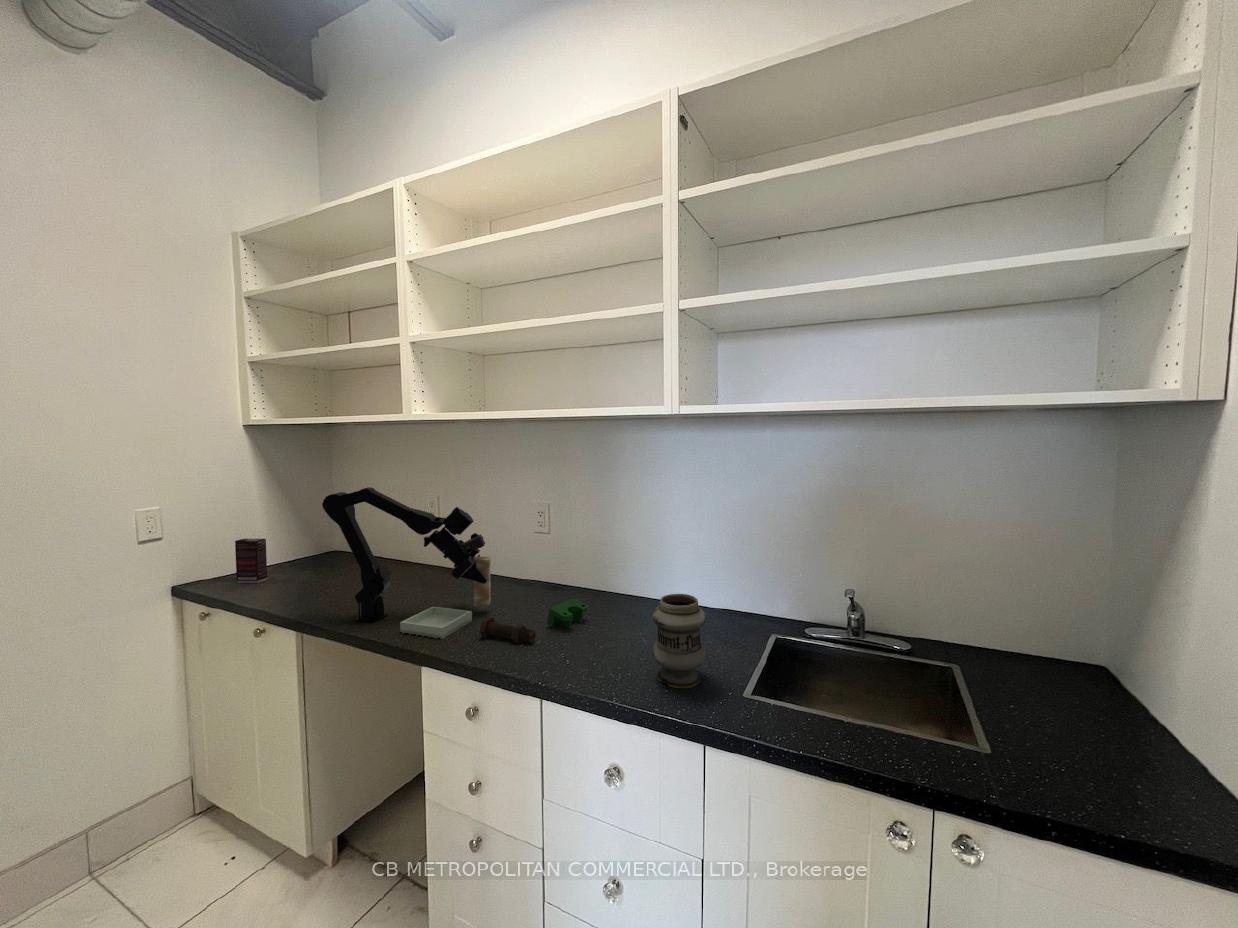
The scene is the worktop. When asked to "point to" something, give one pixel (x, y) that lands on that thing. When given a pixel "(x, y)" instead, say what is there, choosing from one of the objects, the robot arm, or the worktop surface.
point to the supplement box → (251, 560)
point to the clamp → (566, 613)
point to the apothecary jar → (679, 640)
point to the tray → (436, 622)
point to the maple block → (479, 588)
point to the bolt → (506, 631)
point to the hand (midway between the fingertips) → (486, 580)
